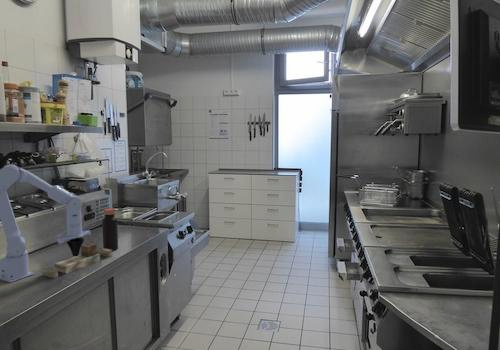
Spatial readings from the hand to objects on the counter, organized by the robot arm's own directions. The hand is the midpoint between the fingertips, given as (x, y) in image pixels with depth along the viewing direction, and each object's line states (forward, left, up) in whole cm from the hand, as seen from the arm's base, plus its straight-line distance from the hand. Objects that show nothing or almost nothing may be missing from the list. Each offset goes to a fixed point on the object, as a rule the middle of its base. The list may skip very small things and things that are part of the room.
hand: (75, 255), depth 151 cm
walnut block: (+7, 0, -2) cm, 7 cm away
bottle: (+24, +5, -5) cm, 25 cm away
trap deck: (+3, 0, -5) cm, 5 cm away
